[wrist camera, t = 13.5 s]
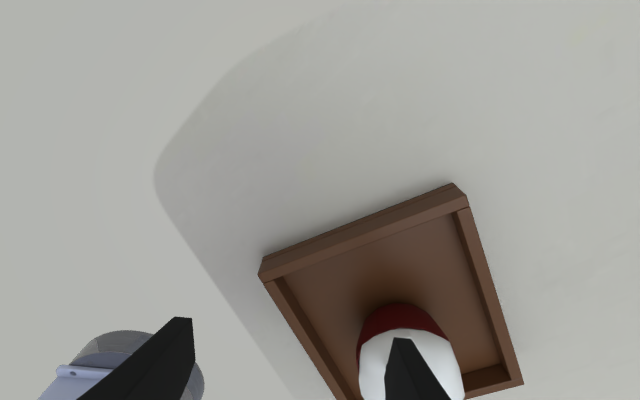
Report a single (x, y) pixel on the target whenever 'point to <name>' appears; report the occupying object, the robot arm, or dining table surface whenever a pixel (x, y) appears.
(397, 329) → the cocoa
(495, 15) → the dining table surface
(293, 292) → the tray
